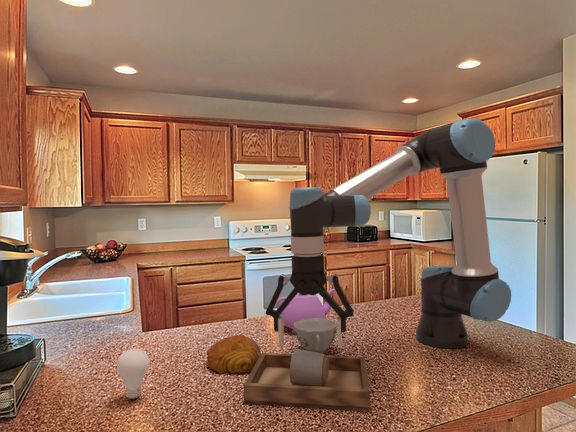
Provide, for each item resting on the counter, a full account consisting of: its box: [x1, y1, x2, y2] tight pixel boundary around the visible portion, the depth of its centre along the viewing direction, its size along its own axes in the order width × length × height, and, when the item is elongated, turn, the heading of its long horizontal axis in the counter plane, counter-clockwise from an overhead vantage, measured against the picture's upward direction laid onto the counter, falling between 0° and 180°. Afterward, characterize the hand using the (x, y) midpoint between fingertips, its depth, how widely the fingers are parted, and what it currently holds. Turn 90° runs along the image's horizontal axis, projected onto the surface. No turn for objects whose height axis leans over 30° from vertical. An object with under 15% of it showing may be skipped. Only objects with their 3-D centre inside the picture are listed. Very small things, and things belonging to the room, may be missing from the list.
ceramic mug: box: [290, 348, 329, 387], centre depth 91 cm, size 11×8×8 cm
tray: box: [243, 352, 371, 412], centre depth 89 cm, size 26×18×4 cm
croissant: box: [206, 334, 261, 375], centre depth 104 cm, size 14×16×8 cm
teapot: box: [275, 287, 336, 335], centre depth 133 cm, size 22×16×14 cm
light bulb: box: [116, 347, 150, 400], centre depth 85 cm, size 7×7×11 cm
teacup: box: [294, 317, 338, 354], centre depth 111 cm, size 15×12×8 cm
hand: (310, 345), depth 89 cm, fingers open, 13 cm apart
